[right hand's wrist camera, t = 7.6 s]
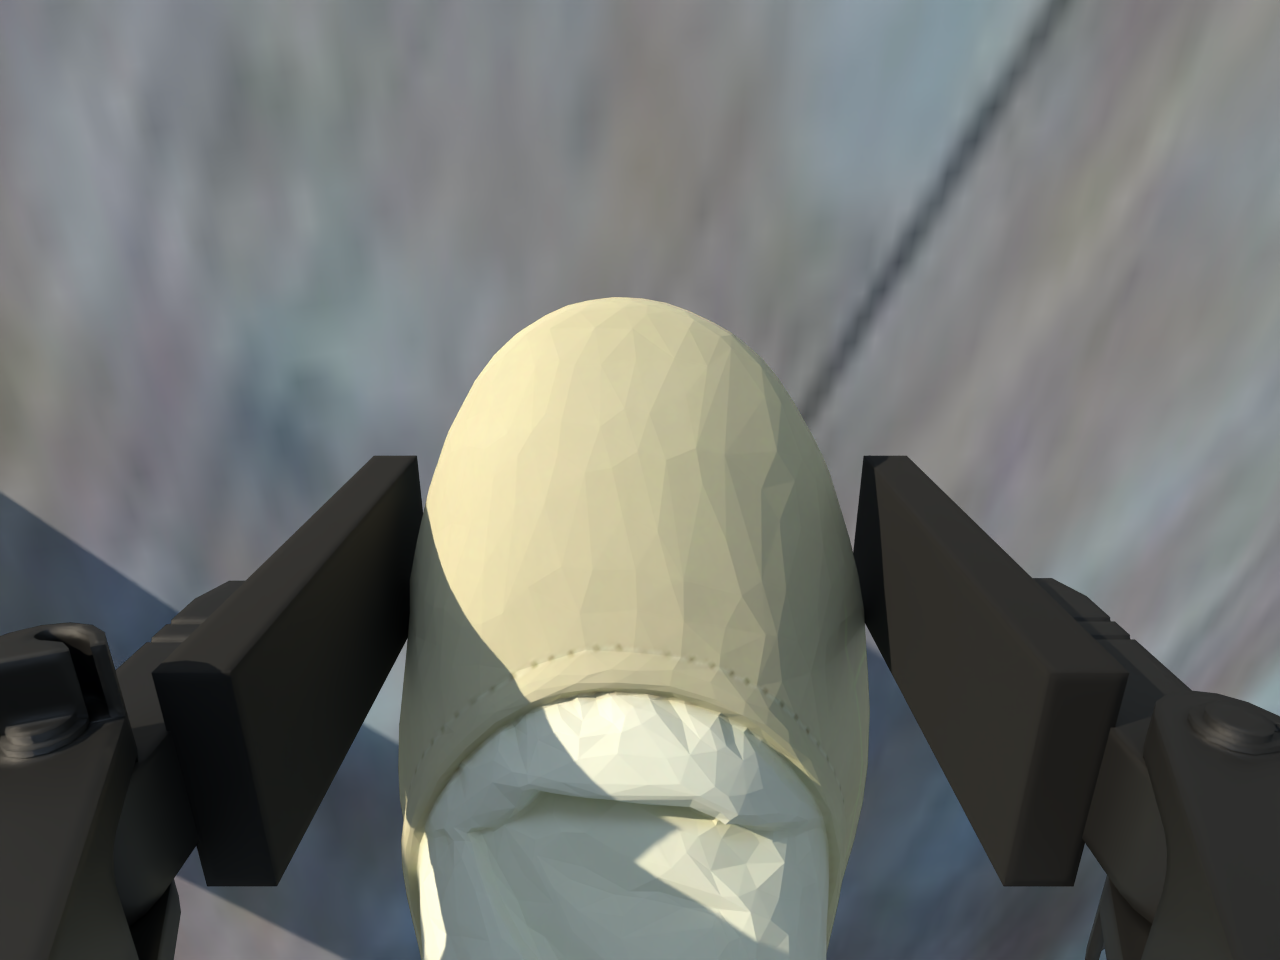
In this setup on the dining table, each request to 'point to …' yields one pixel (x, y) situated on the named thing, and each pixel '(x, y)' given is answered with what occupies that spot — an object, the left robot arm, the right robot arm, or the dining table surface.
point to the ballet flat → (630, 657)
